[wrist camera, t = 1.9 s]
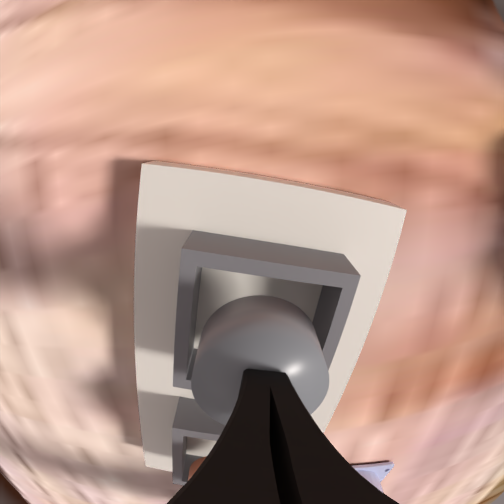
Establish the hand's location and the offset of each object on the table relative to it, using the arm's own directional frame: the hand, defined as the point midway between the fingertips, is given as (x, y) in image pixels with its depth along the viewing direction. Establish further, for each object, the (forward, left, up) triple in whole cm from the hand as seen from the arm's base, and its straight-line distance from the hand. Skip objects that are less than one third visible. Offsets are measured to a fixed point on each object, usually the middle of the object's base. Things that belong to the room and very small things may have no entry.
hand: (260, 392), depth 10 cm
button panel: (-5, 0, -8) cm, 9 cm away
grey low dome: (0, 0, -3) cm, 3 cm away
